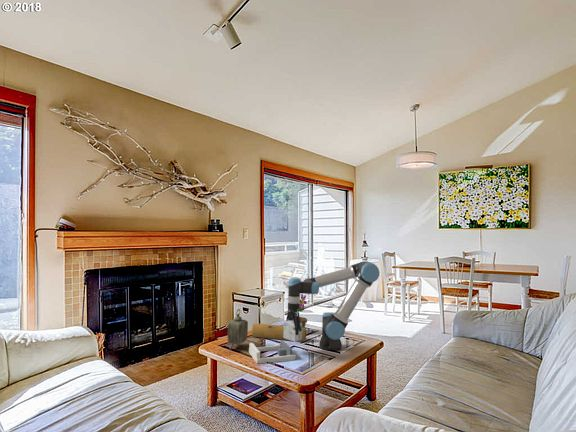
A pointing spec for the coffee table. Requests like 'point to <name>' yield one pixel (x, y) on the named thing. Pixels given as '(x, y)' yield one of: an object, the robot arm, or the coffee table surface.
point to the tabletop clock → (237, 330)
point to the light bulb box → (291, 330)
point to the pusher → (284, 349)
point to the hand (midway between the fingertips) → (292, 336)
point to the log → (272, 331)
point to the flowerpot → (302, 319)
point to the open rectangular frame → (256, 356)
